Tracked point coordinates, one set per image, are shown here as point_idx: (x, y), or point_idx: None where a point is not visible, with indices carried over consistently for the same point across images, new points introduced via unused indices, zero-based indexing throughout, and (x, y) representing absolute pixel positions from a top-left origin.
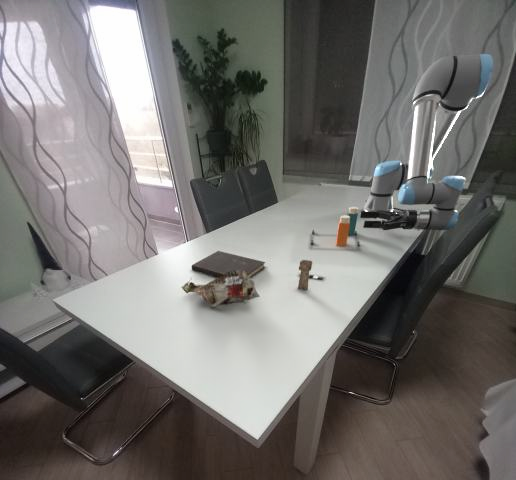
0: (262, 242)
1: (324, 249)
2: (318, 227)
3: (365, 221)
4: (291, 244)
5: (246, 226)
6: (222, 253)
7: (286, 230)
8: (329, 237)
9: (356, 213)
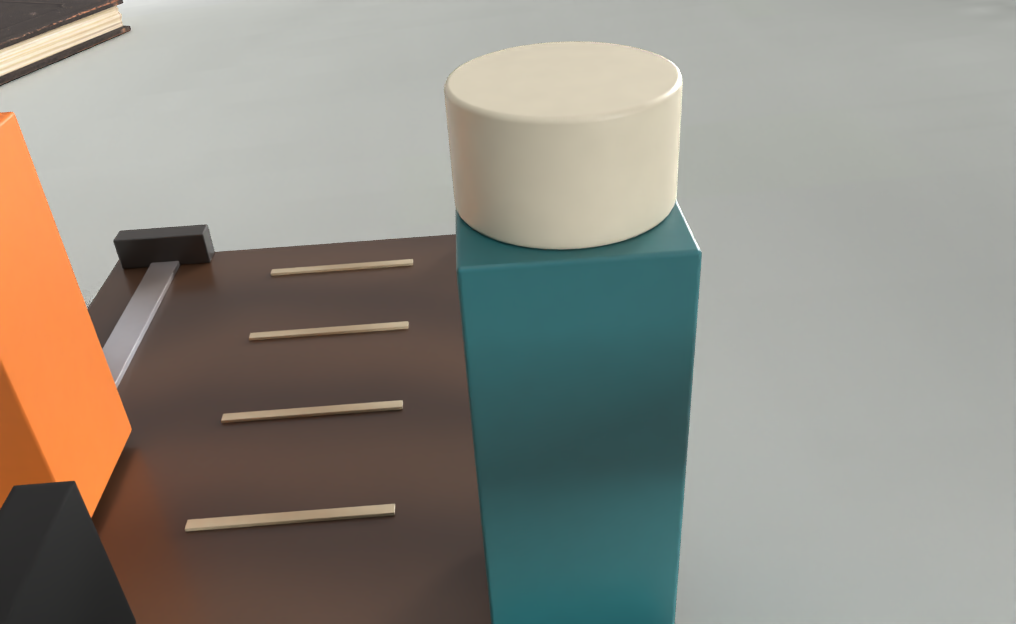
0: (340, 86)
1: None
2: (895, 271)
3: (5, 508)
4: (280, 184)
5: (666, 6)
6: (71, 10)
7: None
8: None
9: (508, 245)
